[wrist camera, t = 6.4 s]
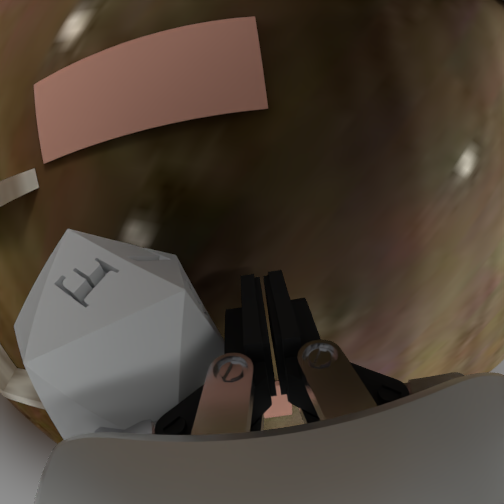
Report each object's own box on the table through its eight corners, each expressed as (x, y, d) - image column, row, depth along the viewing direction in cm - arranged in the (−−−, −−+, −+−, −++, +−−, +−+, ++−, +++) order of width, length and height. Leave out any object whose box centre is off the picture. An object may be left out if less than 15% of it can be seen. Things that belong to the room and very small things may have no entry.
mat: (254, 19, 8) (254, 16, 8) (266, 109, 10) (268, 108, 9) (38, 84, 8) (33, 84, 8) (48, 162, 10) (43, 163, 9)
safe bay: (34, 168, 10) (-6, 183, 7) (128, 388, 16) (118, 422, 13) (-60, 221, 10) (-84, 238, 7) (16, 374, 16) (4, 397, 13)
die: (265, 293, 14) (232, 271, 5) (204, 432, 13) (123, 544, 3) (134, 237, 15) (8, 170, 6) (90, 364, 14) (-36, 387, 5)
